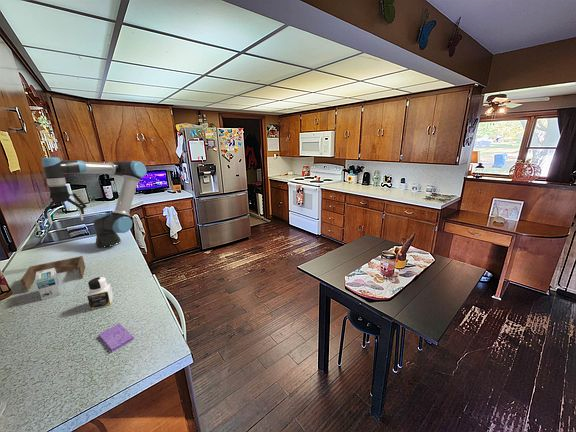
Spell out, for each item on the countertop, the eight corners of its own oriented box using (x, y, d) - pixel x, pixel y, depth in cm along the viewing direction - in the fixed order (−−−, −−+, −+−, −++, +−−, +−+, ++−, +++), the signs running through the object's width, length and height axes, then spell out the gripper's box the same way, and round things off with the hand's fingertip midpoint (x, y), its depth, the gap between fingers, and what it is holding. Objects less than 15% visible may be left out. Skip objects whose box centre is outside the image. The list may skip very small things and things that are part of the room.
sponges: (112, 353, 80) (111, 349, 79) (98, 337, 86) (97, 333, 86) (134, 340, 85) (134, 336, 85) (120, 326, 92) (119, 322, 92)
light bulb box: (61, 294, 112) (55, 274, 109) (41, 300, 108) (34, 279, 105) (60, 286, 120) (55, 266, 117) (42, 291, 115) (35, 271, 112)
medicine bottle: (90, 309, 101) (83, 285, 98) (94, 301, 107) (88, 277, 104) (110, 305, 104) (104, 281, 101) (113, 296, 110) (108, 273, 107)
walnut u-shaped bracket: (85, 266, 140) (82, 255, 138) (82, 278, 126) (79, 266, 125) (33, 278, 127) (30, 266, 126) (25, 292, 114) (20, 279, 112)
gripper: (23, 188, 121) (35, 227, 127) (85, 184, 136) (94, 219, 141) (27, 186, 127) (38, 224, 133) (86, 183, 142) (94, 216, 147)
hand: (67, 221), depth 137 cm, fingers open, 13 cm apart
